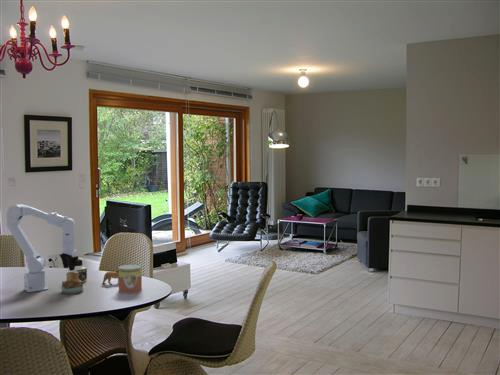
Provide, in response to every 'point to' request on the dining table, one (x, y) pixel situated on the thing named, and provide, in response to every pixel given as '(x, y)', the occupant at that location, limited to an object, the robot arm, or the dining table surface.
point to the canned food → (130, 278)
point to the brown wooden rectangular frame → (72, 284)
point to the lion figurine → (110, 276)
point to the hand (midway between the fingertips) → (68, 268)
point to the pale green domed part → (72, 290)
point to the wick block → (72, 277)
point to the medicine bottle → (80, 270)
